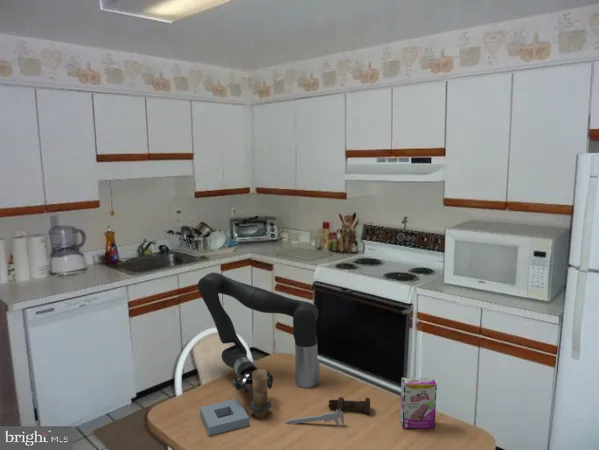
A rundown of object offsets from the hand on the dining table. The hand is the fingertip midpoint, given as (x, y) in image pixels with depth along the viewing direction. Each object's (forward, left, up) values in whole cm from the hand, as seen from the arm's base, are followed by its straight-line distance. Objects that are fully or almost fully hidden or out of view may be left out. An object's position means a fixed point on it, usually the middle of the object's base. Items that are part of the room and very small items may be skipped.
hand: (259, 388), depth 163 cm
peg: (0, +1, -10) cm, 10 cm away
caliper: (-15, +15, -10) cm, 23 cm away
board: (+13, -1, -10) cm, 16 cm away
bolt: (-30, +12, -10) cm, 34 cm away
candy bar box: (-47, +31, -10) cm, 57 cm away
